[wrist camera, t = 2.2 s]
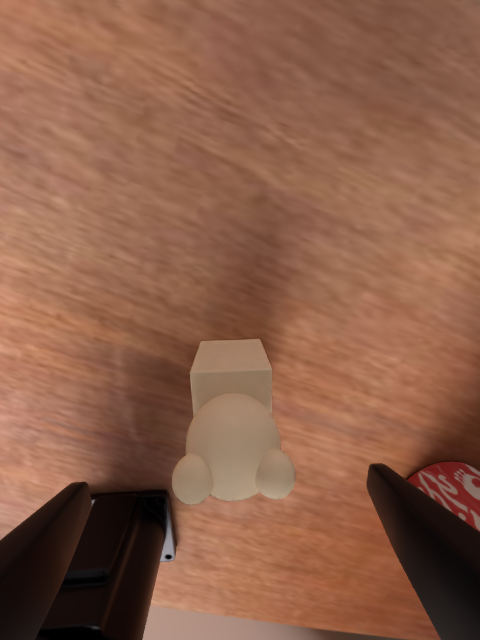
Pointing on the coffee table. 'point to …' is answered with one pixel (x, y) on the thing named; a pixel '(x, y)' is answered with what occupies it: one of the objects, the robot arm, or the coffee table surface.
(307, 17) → the coffee table surface
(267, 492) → the bear
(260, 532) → the coffee table surface
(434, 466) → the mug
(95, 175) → the coffee table surface
